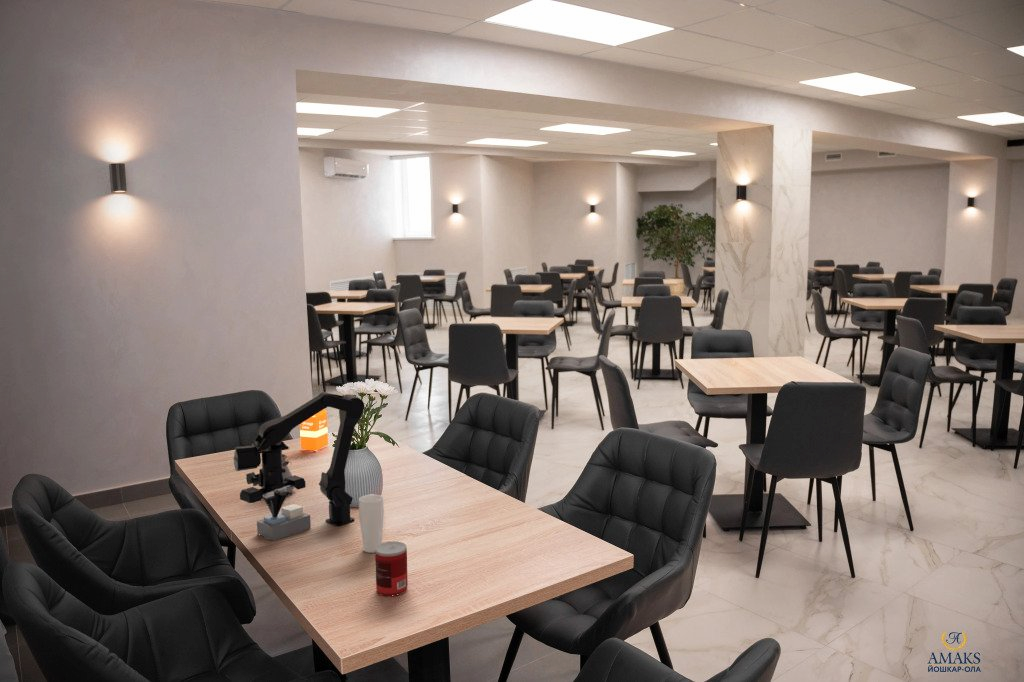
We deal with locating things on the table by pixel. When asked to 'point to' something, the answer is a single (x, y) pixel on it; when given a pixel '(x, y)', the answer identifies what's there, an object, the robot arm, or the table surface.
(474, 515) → the table surface
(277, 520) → the blue key
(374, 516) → the drinking glass
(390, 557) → the canned food
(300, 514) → the cream key
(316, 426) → the orange juice
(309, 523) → the key block
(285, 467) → the coffee pot
